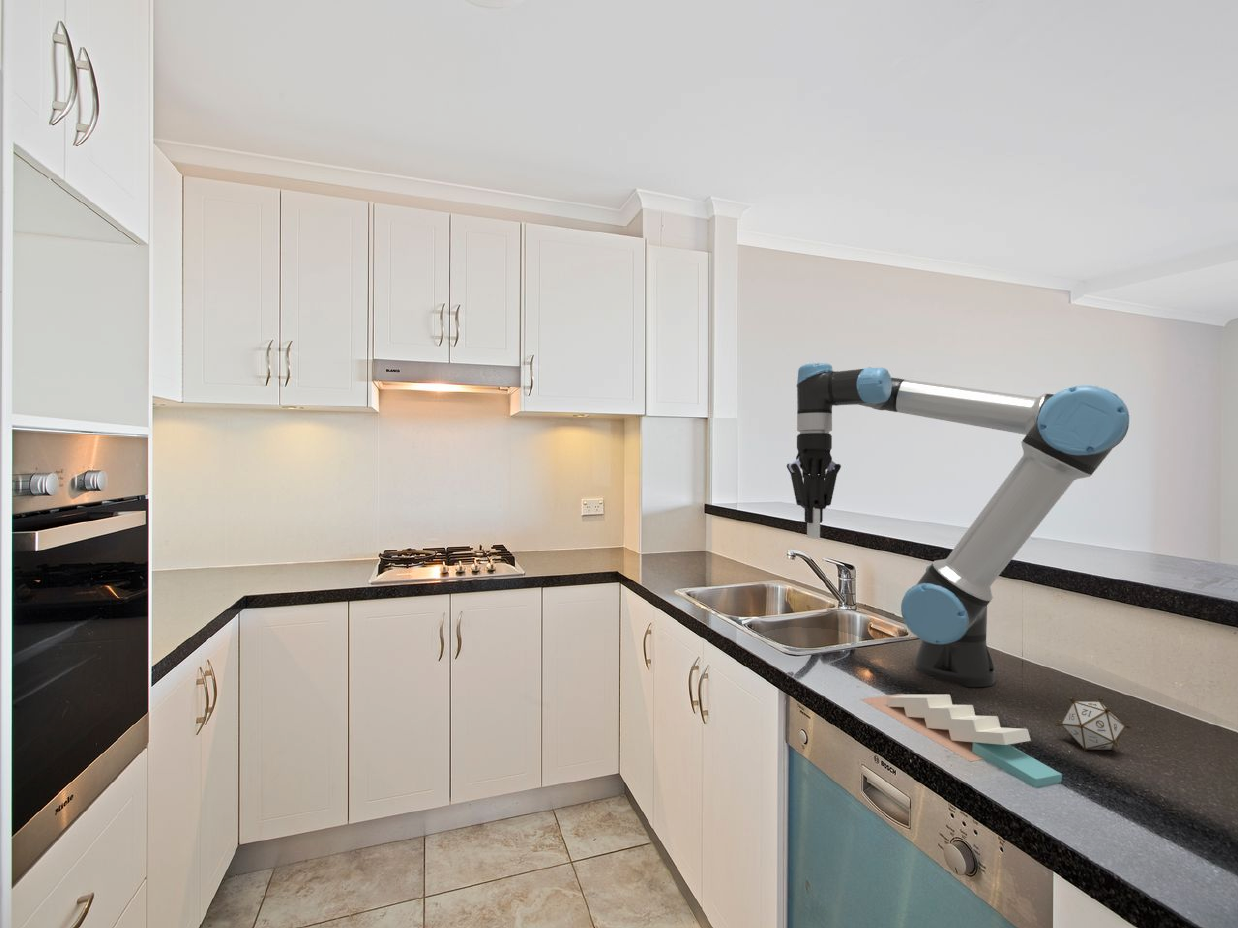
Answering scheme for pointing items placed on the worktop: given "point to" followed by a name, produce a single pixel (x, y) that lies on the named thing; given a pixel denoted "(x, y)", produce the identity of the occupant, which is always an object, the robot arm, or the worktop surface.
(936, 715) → the domino
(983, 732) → the domino
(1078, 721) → the game die
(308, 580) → the worktop surface
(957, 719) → the domino
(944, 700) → the domino
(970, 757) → the mat
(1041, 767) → the domino
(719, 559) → the worktop surface
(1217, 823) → the worktop surface
